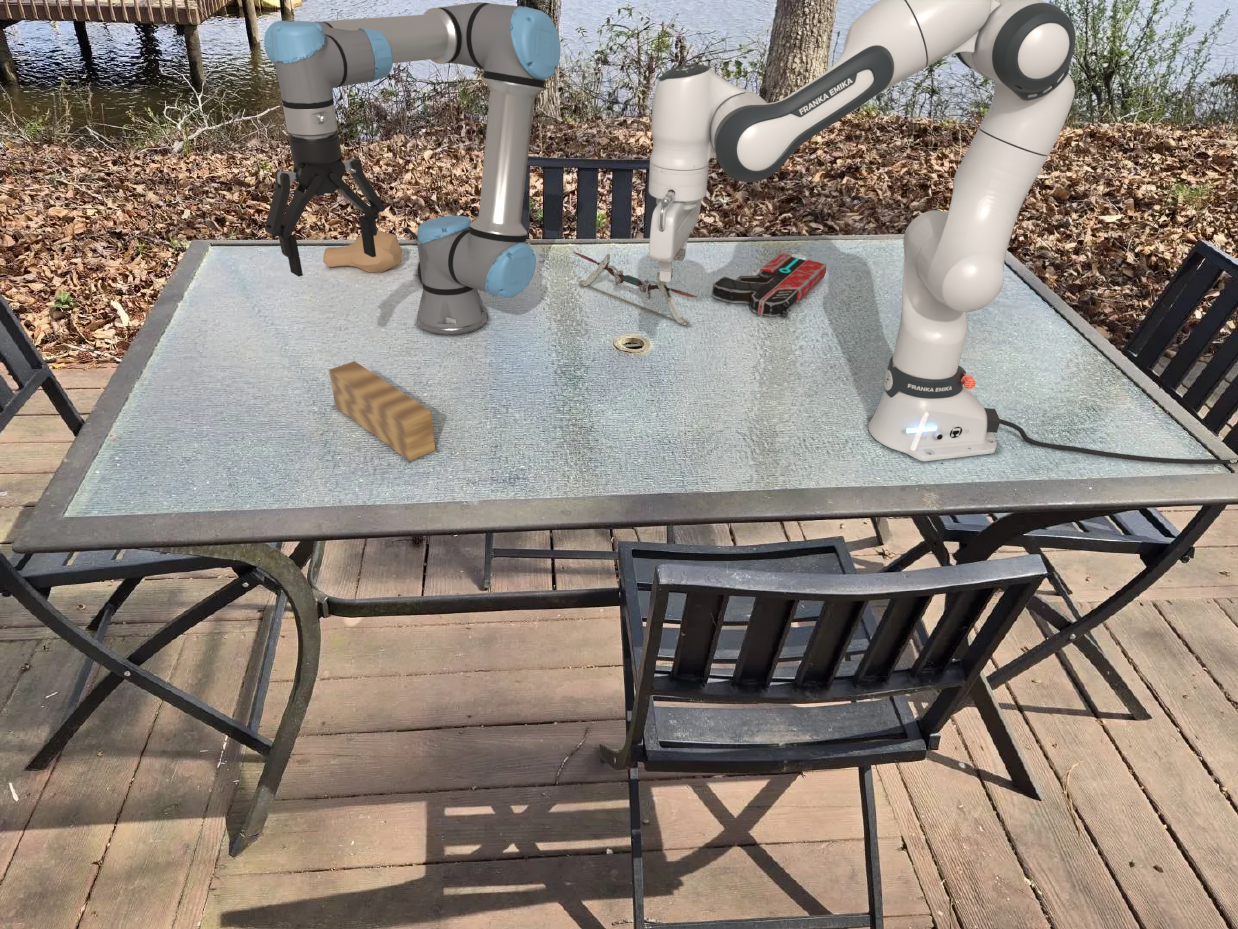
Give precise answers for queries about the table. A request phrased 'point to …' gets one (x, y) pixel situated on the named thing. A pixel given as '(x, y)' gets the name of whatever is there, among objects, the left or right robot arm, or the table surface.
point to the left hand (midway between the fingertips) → (334, 264)
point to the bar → (383, 410)
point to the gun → (772, 285)
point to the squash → (355, 256)
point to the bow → (643, 285)
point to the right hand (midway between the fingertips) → (672, 269)
